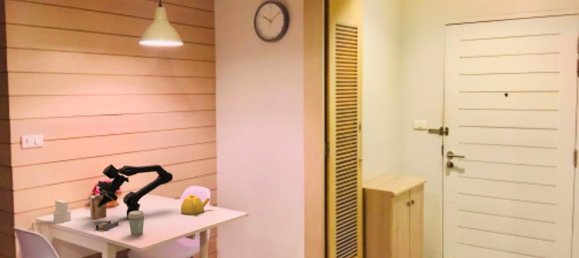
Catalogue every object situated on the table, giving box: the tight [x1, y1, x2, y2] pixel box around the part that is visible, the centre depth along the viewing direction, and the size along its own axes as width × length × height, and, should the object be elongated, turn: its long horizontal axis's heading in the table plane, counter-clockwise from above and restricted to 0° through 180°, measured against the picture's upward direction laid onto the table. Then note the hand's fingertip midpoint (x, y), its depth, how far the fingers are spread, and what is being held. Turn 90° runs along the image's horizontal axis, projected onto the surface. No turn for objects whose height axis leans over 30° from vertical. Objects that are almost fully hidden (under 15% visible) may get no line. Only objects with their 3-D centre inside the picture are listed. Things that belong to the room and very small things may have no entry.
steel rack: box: [95, 220, 120, 232], centre depth 260 cm, size 11×6×2 cm, turn 160°
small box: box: [89, 194, 107, 220], centre depth 281 cm, size 8×6×13 cm
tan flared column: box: [94, 194, 107, 219], centre depth 268 cm, size 4×4×12 cm
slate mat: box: [93, 220, 108, 227], centre depth 269 cm, size 7×7×1 cm
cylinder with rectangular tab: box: [53, 199, 72, 224], centre depth 273 cm, size 9×9×12 cm
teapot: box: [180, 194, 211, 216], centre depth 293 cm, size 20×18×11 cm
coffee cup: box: [127, 210, 146, 237], centre depth 248 cm, size 9×8×12 cm
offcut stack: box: [97, 223, 107, 232], centre depth 257 cm, size 4×3×4 cm
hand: (97, 205), depth 267 cm, fingers closed on tan flared column, 3 cm apart
